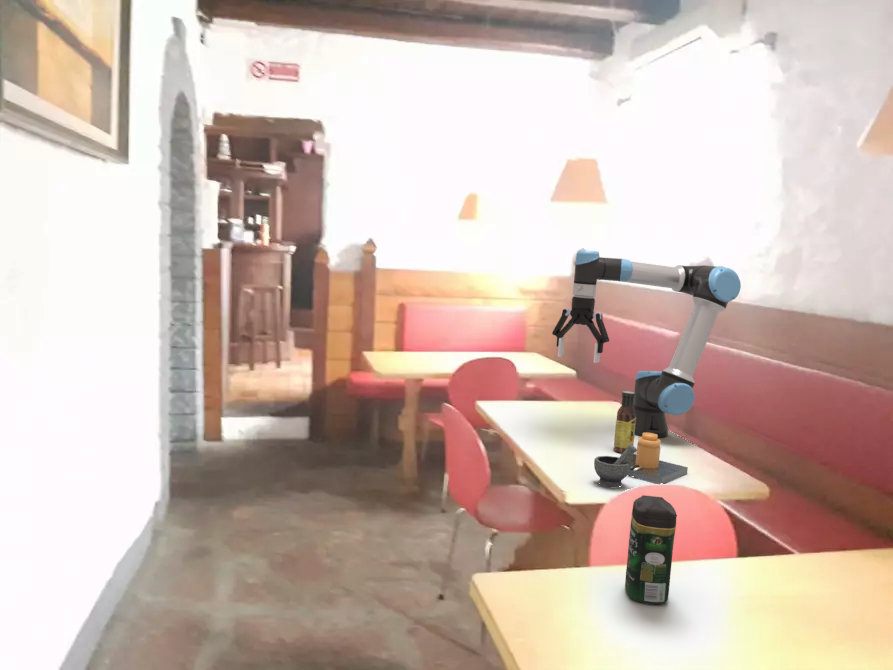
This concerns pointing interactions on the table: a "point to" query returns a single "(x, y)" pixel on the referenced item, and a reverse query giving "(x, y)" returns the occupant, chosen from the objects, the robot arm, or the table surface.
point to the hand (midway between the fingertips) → (578, 359)
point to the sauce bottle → (625, 423)
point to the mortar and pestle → (613, 467)
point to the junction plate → (656, 471)
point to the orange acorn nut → (648, 450)
